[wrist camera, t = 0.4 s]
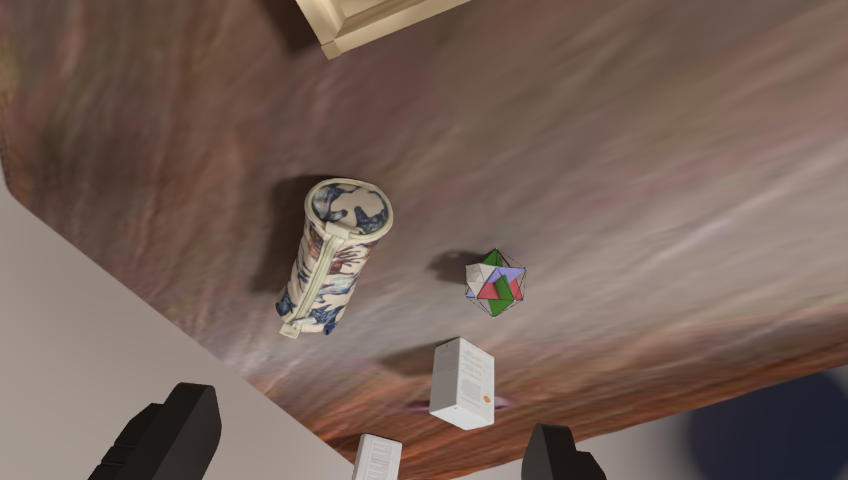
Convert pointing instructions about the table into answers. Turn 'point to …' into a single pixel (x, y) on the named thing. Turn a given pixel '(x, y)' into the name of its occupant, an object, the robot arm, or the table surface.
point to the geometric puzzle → (494, 282)
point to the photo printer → (377, 459)
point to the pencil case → (332, 253)
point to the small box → (463, 385)
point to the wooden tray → (365, 19)
